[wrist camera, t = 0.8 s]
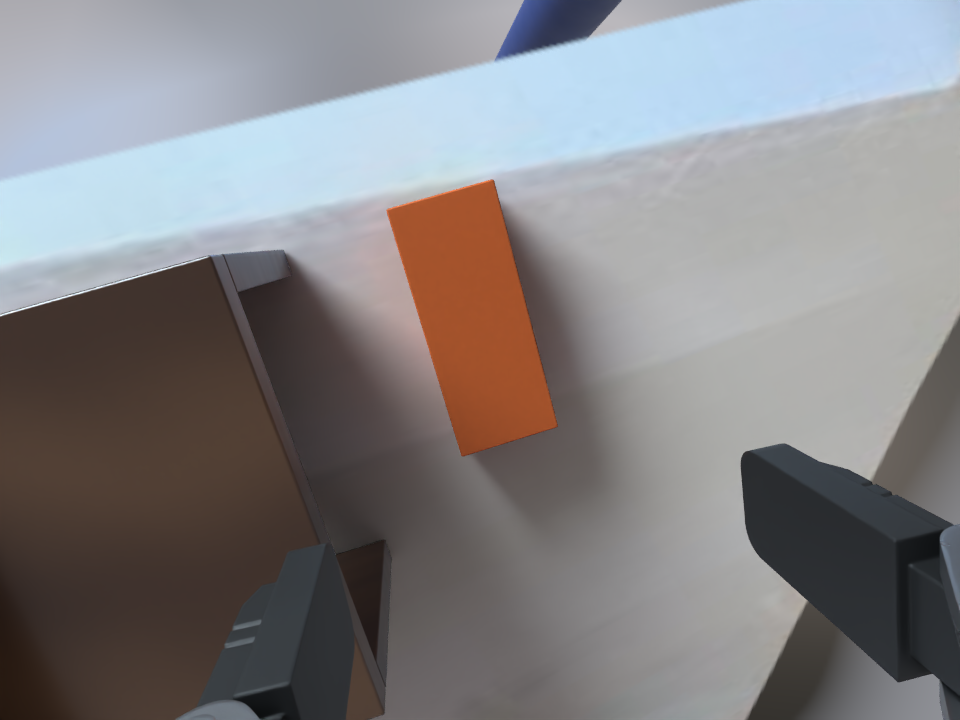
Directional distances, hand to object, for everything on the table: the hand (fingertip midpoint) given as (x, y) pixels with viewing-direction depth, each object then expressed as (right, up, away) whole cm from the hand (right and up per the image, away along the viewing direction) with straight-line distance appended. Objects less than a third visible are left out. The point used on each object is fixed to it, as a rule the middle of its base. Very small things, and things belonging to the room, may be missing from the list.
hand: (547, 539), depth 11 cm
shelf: (-14, -1, +16) cm, 21 cm away
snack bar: (-2, +6, +16) cm, 17 cm away
